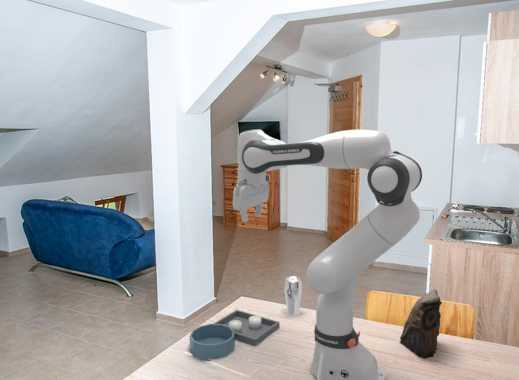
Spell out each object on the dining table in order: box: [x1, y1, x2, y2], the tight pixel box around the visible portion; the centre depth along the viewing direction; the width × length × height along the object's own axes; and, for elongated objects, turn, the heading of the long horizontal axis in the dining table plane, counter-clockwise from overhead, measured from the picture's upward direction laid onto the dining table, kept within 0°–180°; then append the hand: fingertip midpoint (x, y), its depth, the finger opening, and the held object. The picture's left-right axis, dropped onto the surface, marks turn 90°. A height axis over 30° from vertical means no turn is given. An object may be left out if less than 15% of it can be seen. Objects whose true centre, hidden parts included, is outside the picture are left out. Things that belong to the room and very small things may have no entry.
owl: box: [399, 288, 443, 360], centre depth 143 cm, size 13×13×20 cm
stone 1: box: [229, 320, 242, 333], centre depth 156 cm, size 5×5×3 cm
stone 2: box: [249, 315, 262, 330], centre depth 160 cm, size 5×5×3 cm
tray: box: [213, 309, 280, 347], centre depth 158 cm, size 20×16×3 cm
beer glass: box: [284, 275, 303, 317], centre depth 171 cm, size 7×7×15 cm
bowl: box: [189, 323, 236, 362], centre depth 145 cm, size 15×15×6 cm
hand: (251, 218), depth 144 cm, fingers open, 8 cm apart
